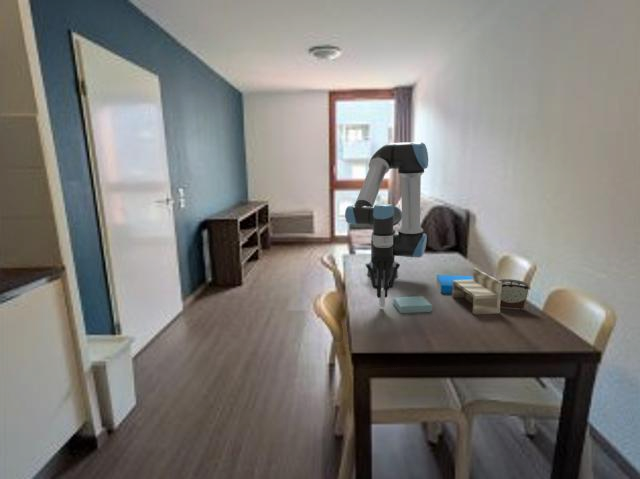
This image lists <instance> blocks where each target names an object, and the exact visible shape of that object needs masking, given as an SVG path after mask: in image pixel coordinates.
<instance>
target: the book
mask: <svg viewBox="0 0 640 479" xmlns="http://www.w3.org/2000/svg"><path fill="white" fill-rule="evenodd" d="M471 279H473V275H454V274H453V275H452V274H451V275H449V274H448V275H447V274H436V285H437V288H438V290H439V292H440V294H451V295H452V287H453V280H471Z"/></svg>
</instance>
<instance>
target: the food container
mask: <svg viewBox="0 0 640 479" xmlns="http://www.w3.org/2000/svg"><path fill="white" fill-rule="evenodd" d="M498 280H499V281H501V282H502V289H501V302H500V309H501V308H502V309H511V310H520V309H522V311H524V310H525V307H526V301H527V298H528V292H529V291H531V287H530V284H529V283H527V282H525V281H522V280H518V279H511V278H510V279H508V278H504V279H503V278H502V279H498Z"/></svg>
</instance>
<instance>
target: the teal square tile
mask: <svg viewBox="0 0 640 479" xmlns="http://www.w3.org/2000/svg"><path fill="white" fill-rule="evenodd" d="M392 301H393V302H392V303H393V306H394V307H395V308H396V309H397V311H398V312H399V313H400V314H408V313H430V312H432V309H433V306H432V304H431V302H429V301H428V300H427V299H426V298H425V297H424V296H422V295H420V296H402V297H401V296H400V297H397V296H395V297H393V300H392Z"/></svg>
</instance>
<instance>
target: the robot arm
mask: <svg viewBox="0 0 640 479" xmlns="http://www.w3.org/2000/svg"><path fill="white" fill-rule="evenodd" d="M428 167H429V153H428V148H427V146H426V144H425V143H424V142H422V141H409V142H406V141H405V142H391V143H387V144H385V145H383V146H382V147H380V148H378V149H377V150H376V151H375V153H374V154H373V155H372V156H371V158H370V159H369V162H368V171H367V173H366V176H365V178H364V181H363V183H362V186H361V188H360V191H359V194H357V195H358V196H357V198H356V200H355V203H354V205H348V206H347V207H346V208H345V212H344V219H345V221H346V223H347V224H350V225H357V226H358V225H361V226H372V233H371V239H370V262H367V263H365V267H366V269H367V276H368V277H369V280H370V282H371V287H372V288H373V289H374V290H376V297H377V298H378V305H379V306H380V307H382V308H384V307H385V303H386V299H387V298H388V292H389V289H392V288H393V287H394V283H395V279H396V277H398V275H399V270H398V269H399V268H400V266H401V265H400V263H398V262H397V261H396V260H395V257H406V258H416V259H417V258H422V257H423V256H424V253H425V250H426V246H427V241H428V240H427V239H428V235H427V234H426V233H424V228H422V227H421V183H422V182H421V181H422V179H421V178H422V175H423V174H424V173H425V169H428ZM391 169H393V170H398V171H397V173H398V174H399V175H400V177H401V208H399V207H398V206H394V205H393V204H389V203H380V204H375V202H376V200H377V196H378V194H379V191H380V189H381V186H382V183H383V181H384V178H385V175H387V173H388V172H389V171H390V170H391ZM399 223H401V226H400V227H399V228H398V231H396V229H395V228H394V226H396V225H398V224H399ZM382 279H383V281H382ZM382 284H383V286H382Z"/></svg>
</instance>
